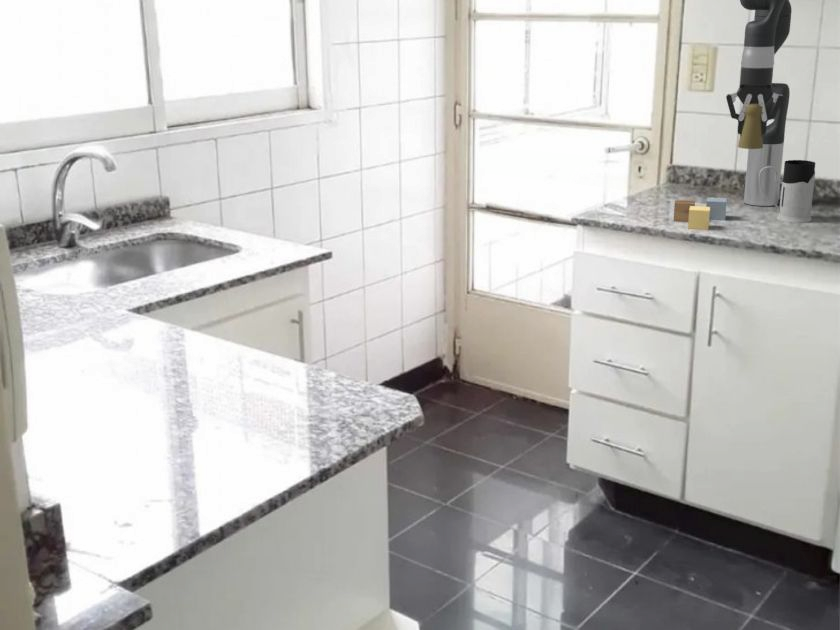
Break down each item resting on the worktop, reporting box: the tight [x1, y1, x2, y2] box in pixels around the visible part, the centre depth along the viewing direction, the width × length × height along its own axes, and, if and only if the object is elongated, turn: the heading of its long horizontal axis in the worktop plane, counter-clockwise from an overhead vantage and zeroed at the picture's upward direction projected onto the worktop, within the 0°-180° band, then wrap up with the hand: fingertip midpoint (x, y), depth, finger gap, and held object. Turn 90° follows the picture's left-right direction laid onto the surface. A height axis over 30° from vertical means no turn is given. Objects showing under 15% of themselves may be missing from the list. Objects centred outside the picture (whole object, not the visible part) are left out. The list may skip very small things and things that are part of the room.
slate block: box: [705, 197, 728, 221], centre depth 265 cm, size 5×5×5 cm
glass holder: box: [759, 159, 816, 224], centre depth 261 cm, size 9×14×15 cm, turn 77°
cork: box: [737, 103, 763, 150], centre depth 248 cm, size 6×6×11 cm
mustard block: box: [687, 205, 710, 231], centre depth 255 cm, size 5×5×5 cm
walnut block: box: [673, 198, 696, 223], centre depth 264 cm, size 5×5×5 cm
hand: (751, 135), depth 248 cm, fingers closed on cork, 4 cm apart
